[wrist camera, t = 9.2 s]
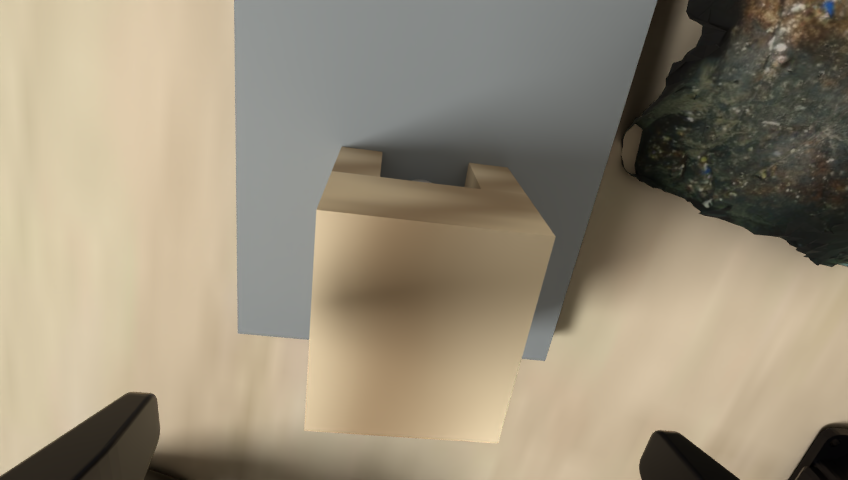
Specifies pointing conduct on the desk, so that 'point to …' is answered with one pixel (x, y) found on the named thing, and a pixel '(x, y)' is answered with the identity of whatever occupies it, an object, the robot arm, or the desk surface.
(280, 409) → the desk surface
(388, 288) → the block
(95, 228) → the desk surface
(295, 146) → the pin plate
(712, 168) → the decorative rock
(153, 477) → the ink bottle
